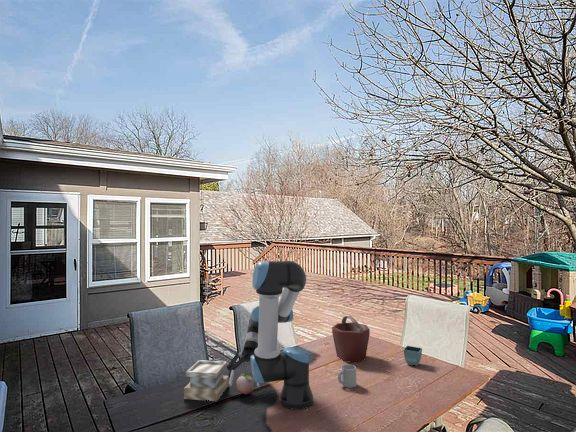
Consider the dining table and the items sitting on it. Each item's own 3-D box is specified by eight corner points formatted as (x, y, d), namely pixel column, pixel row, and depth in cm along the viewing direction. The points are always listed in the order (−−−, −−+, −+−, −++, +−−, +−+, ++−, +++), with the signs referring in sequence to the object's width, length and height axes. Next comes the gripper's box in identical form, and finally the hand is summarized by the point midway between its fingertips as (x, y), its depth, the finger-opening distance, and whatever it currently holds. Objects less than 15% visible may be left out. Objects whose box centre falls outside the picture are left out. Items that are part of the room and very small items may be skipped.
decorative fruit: (232, 394, 164) (232, 373, 164) (245, 389, 170) (245, 368, 170) (244, 401, 157) (244, 378, 158) (258, 394, 163) (258, 373, 164)
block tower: (228, 386, 173) (228, 361, 174) (217, 401, 157) (217, 373, 158) (198, 384, 175) (198, 359, 176) (184, 398, 159) (184, 372, 160)
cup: (359, 386, 172) (358, 368, 172) (342, 390, 168) (341, 371, 168) (351, 381, 178) (350, 363, 179) (334, 384, 174) (334, 366, 175)
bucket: (372, 365, 200) (372, 321, 201) (334, 365, 200) (334, 321, 201) (364, 351, 224) (363, 312, 226) (330, 351, 224) (329, 312, 226)
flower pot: (422, 363, 202) (422, 347, 203) (419, 368, 195) (419, 352, 195) (407, 360, 207) (406, 345, 207) (403, 365, 199) (403, 349, 200)
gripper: (276, 347, 178) (271, 390, 162) (230, 345, 182) (220, 387, 166) (274, 340, 173) (268, 383, 157) (227, 338, 177) (216, 380, 161)
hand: (243, 385), depth 162 cm, fingers open, 13 cm apart
